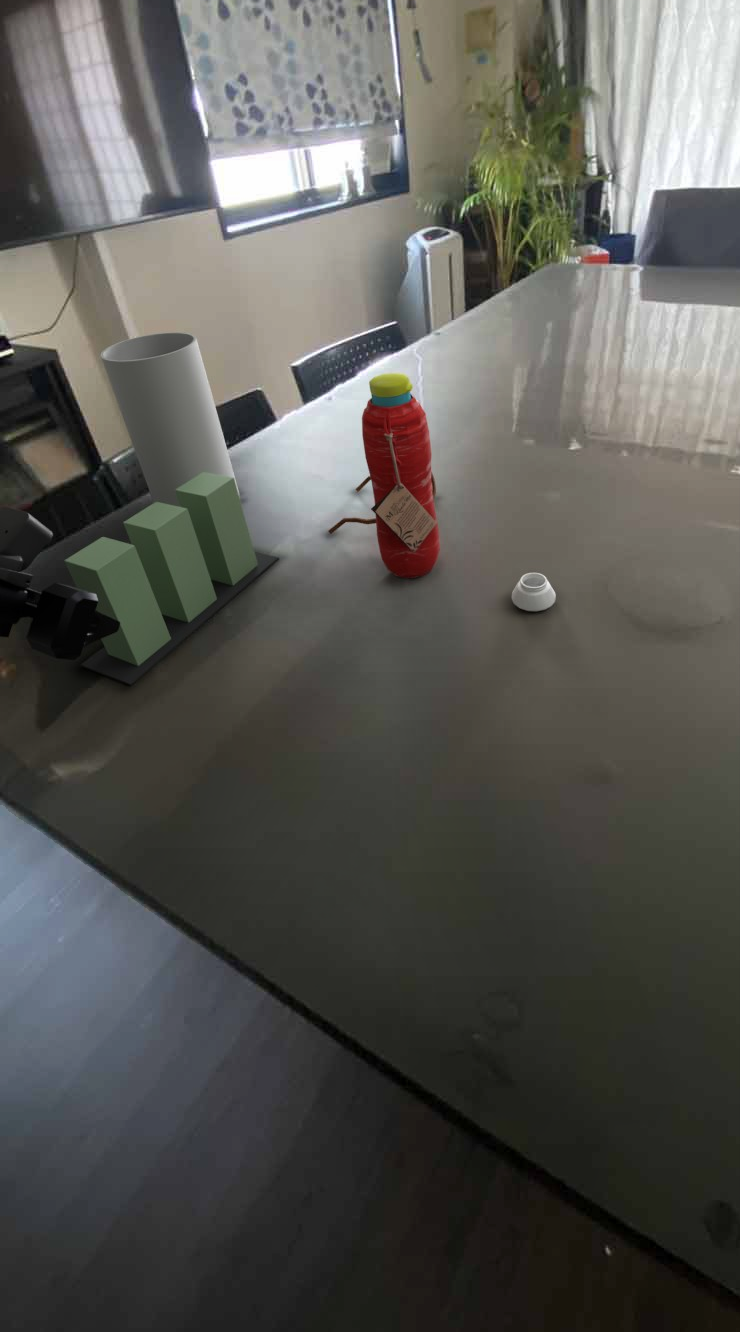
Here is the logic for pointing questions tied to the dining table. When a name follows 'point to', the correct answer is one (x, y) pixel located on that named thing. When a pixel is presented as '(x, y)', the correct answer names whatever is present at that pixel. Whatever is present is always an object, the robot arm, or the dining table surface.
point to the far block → (219, 526)
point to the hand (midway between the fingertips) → (88, 616)
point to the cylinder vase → (167, 410)
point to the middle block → (171, 560)
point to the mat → (175, 629)
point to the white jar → (533, 593)
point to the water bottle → (400, 476)
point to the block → (121, 597)
